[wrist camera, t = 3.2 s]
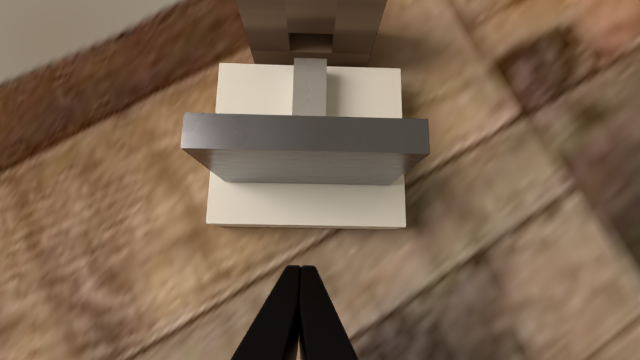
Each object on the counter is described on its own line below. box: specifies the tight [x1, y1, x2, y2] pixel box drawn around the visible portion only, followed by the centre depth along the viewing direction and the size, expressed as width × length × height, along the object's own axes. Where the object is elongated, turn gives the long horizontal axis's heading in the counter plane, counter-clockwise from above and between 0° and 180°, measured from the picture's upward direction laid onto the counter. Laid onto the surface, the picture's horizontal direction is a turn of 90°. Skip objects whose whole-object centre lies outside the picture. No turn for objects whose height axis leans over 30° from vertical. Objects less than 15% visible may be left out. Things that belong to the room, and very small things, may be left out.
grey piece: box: [181, 58, 430, 185], centre depth 17 cm, size 8×10×7 cm
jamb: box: [236, 0, 387, 67], centre depth 22 cm, size 4×8×8 cm, turn 89°
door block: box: [206, 63, 406, 230], centre depth 22 cm, size 10×12×3 cm
